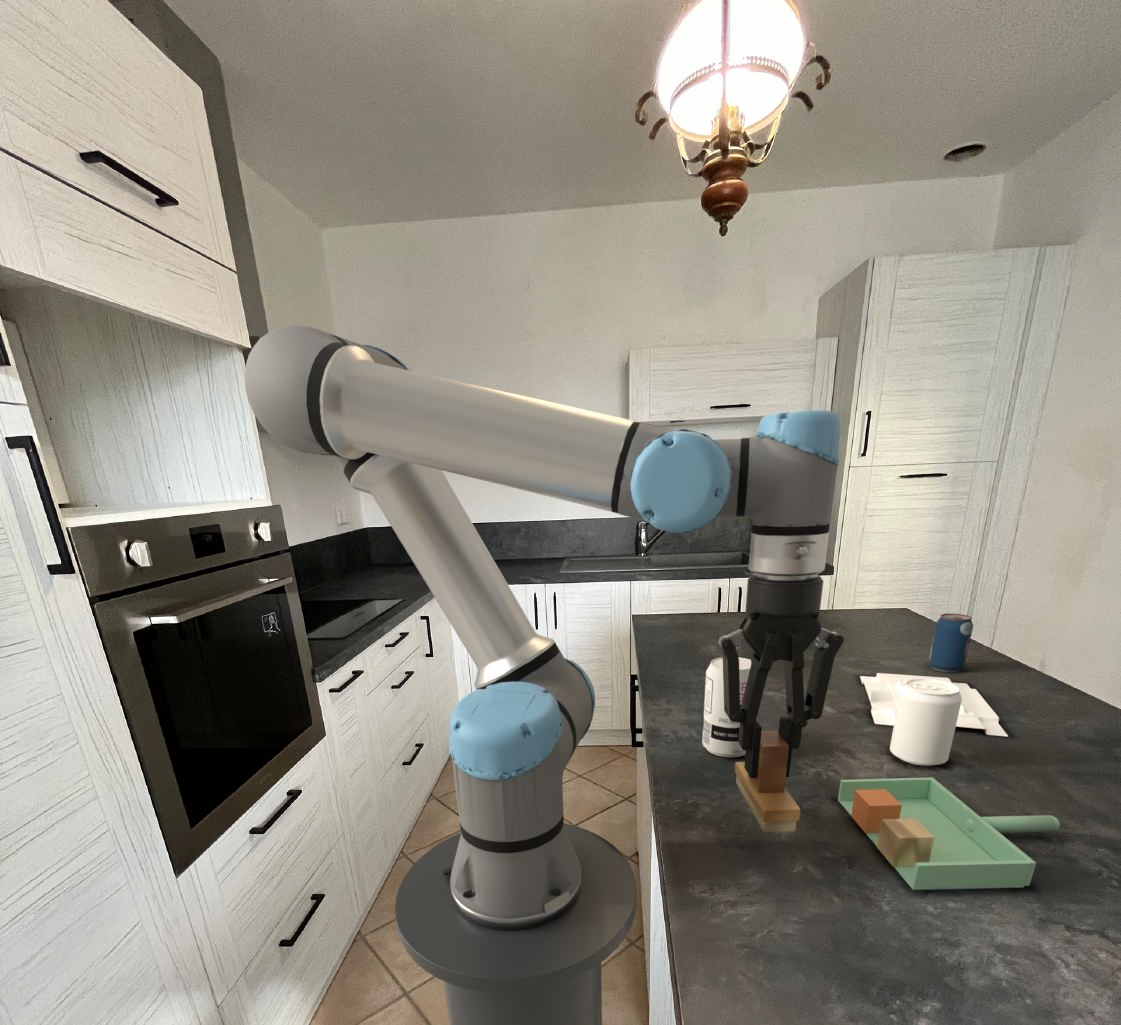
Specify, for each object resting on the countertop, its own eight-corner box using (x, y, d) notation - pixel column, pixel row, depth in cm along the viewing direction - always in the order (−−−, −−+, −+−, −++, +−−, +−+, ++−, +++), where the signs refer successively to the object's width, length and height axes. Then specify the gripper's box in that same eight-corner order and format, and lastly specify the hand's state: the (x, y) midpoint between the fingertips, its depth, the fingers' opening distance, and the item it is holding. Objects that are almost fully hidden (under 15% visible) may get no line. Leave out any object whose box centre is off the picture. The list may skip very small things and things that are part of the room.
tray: (966, 683, 124) (970, 666, 122) (1008, 742, 100) (1013, 722, 98) (858, 675, 130) (861, 660, 129) (873, 729, 106) (877, 710, 105)
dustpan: (913, 890, 65) (918, 865, 63) (837, 799, 82) (840, 779, 81) (1122, 885, 64) (1131, 860, 63) (1000, 795, 82) (1006, 775, 81)
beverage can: (944, 773, 88) (961, 699, 84) (884, 760, 93) (897, 688, 89) (950, 753, 94) (966, 683, 90) (893, 741, 99) (906, 674, 95)
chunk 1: (869, 805, 73) (902, 805, 73) (855, 789, 77) (886, 789, 77) (864, 833, 74) (896, 832, 74) (850, 816, 78) (881, 815, 78)
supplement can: (724, 734, 104) (730, 652, 99) (763, 749, 98) (771, 664, 92) (691, 746, 100) (696, 662, 95) (730, 763, 94) (736, 674, 88)
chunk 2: (899, 838, 66) (934, 837, 66) (881, 818, 70) (915, 818, 70) (893, 867, 68) (928, 866, 68) (876, 846, 72) (909, 846, 72)
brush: (762, 833, 66) (768, 762, 63) (733, 782, 77) (738, 719, 74) (797, 832, 66) (806, 760, 63) (764, 781, 77) (770, 718, 74)
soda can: (970, 672, 130) (982, 619, 125) (938, 673, 130) (948, 620, 126) (952, 663, 136) (963, 612, 132) (921, 664, 137) (931, 613, 132)
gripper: (717, 583, 59) (705, 790, 67) (880, 577, 58) (848, 785, 67) (701, 571, 66) (692, 760, 74) (846, 566, 65) (821, 756, 74)
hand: (766, 772), depth 70 cm, fingers closed on brush, 3 cm apart
